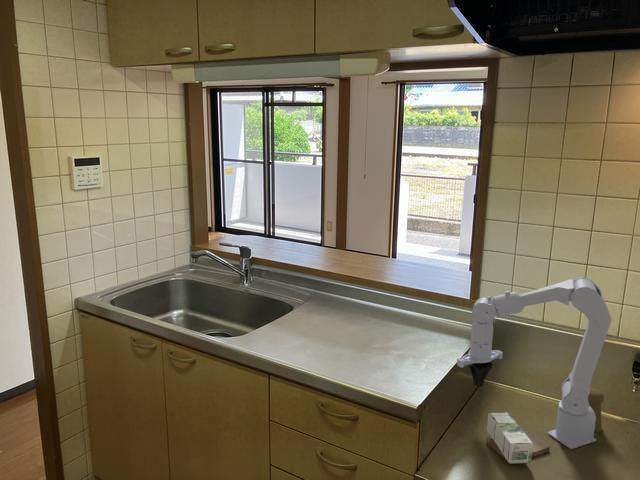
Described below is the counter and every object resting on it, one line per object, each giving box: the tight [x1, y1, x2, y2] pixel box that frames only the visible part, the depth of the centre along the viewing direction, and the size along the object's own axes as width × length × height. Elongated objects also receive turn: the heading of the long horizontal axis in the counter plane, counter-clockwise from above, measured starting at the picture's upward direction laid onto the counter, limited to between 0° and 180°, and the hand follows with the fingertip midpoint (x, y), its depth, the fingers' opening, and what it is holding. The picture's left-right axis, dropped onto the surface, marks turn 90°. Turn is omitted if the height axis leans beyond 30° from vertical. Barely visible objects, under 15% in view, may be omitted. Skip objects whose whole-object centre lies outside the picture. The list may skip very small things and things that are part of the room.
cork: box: [588, 387, 605, 433], centre depth 146 cm, size 6×6×11 cm
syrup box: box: [486, 411, 533, 464], centre depth 135 cm, size 6×6×14 cm
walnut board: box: [485, 428, 551, 465], centre depth 137 cm, size 13×9×1 cm
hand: (478, 385), depth 148 cm, fingers closed
